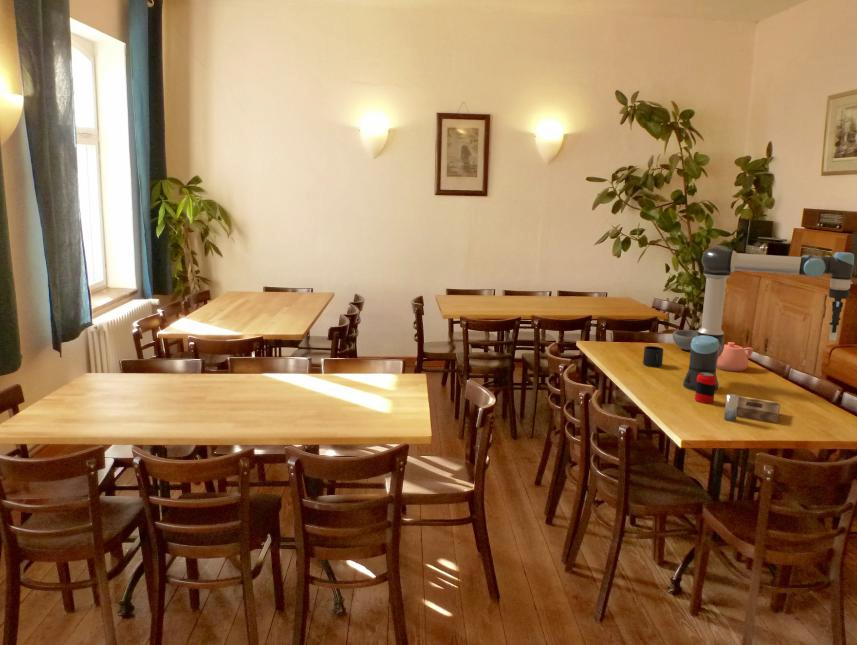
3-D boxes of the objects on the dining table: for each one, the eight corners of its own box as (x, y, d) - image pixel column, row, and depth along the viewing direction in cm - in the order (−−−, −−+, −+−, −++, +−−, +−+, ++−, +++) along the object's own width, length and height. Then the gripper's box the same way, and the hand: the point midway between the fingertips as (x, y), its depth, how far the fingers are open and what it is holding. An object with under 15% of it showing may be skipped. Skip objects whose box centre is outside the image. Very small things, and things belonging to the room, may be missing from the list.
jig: (726, 414, 268) (728, 403, 267) (731, 405, 279) (732, 394, 278) (776, 423, 258) (777, 411, 257) (779, 413, 270) (780, 402, 269)
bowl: (667, 344, 393) (669, 327, 391) (707, 346, 390) (708, 329, 388) (676, 353, 371) (677, 336, 369) (718, 355, 368) (720, 338, 366)
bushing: (723, 420, 261) (725, 395, 259) (724, 417, 264) (727, 393, 263) (735, 422, 259) (738, 397, 257) (736, 419, 262) (739, 395, 260)
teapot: (710, 371, 333) (713, 346, 330) (696, 363, 349) (698, 338, 347) (759, 372, 334) (762, 346, 332) (742, 363, 351) (745, 339, 348)
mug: (647, 368, 337) (648, 351, 335) (640, 362, 349) (642, 345, 347) (665, 368, 337) (667, 351, 335) (658, 363, 348) (660, 346, 347)
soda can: (692, 398, 289) (694, 371, 286) (709, 398, 289) (712, 372, 286) (698, 403, 281) (701, 376, 279) (716, 403, 281) (719, 376, 279)
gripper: (850, 293, 269) (843, 343, 273) (849, 286, 290) (842, 333, 294) (829, 291, 273) (822, 341, 277) (829, 284, 294) (823, 331, 298)
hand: (832, 337), depth 286 cm, fingers open, 13 cm apart
